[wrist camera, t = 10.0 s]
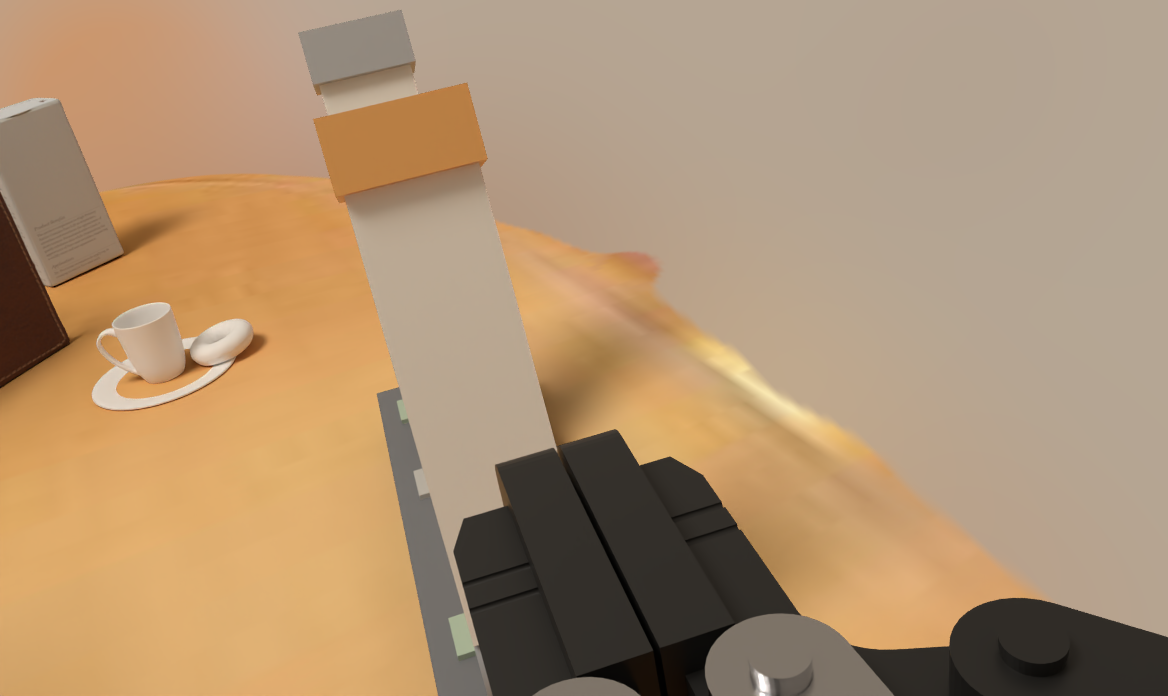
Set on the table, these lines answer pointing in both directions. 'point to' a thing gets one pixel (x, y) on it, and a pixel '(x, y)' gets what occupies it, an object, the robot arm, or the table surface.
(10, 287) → the letter holder
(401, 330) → the orange switch
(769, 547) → the table surface
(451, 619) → the switch panel
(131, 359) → the teacup and saucer
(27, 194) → the skincare box
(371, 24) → the grey switch
